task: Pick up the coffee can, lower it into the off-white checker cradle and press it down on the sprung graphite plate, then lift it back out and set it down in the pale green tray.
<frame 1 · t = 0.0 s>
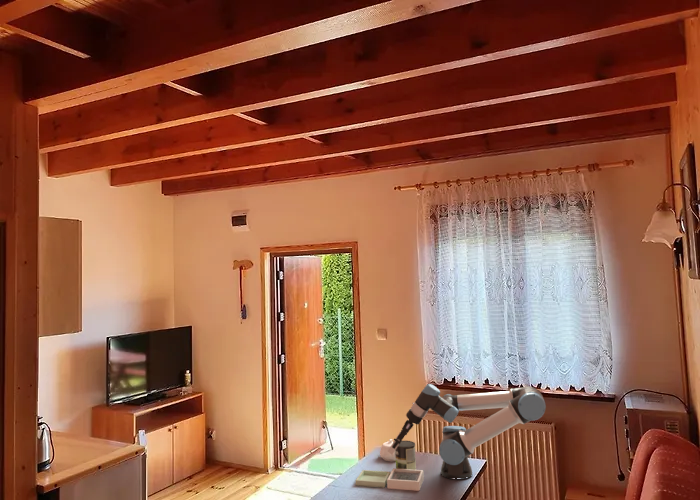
hand: (392, 448, 257), 15 cm above the table, tool tilted 35°, fingers open, 13 cm apart
checker cradle: (406, 483, 251), on the table
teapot: (391, 459, 287), on the table
coffee can: (406, 472, 266), on the table
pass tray: (373, 481, 256), on the table
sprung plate: (405, 478, 252), point 2 cm above the table, slide at 0.1 cm
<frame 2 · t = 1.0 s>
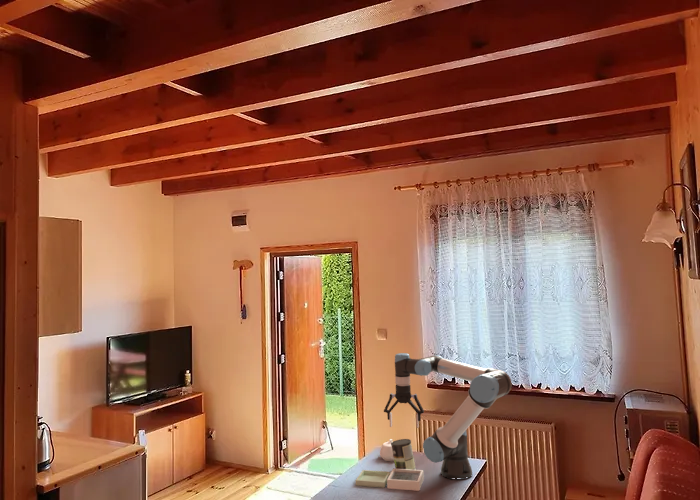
hand: (404, 426, 267), 23 cm above the table, tool pointing down, fingers open, 13 cm apart
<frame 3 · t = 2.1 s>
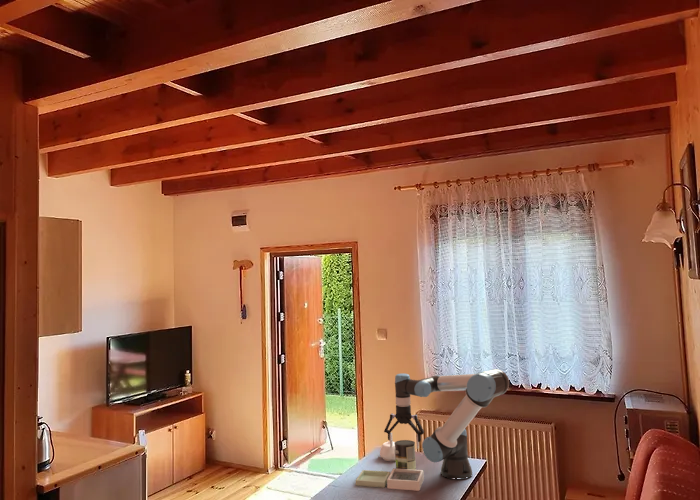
hand: (404, 447, 267), 12 cm above the table, tool pointing down, fingers open, 13 cm apart
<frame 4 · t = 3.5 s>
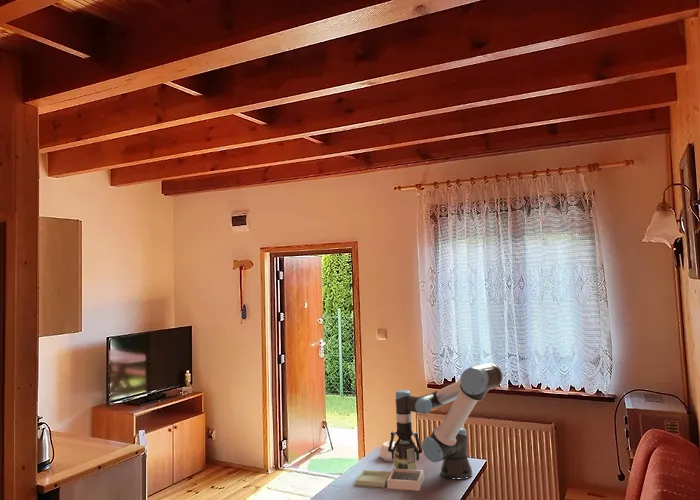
hand: (405, 466, 267), 3 cm above the table, tool pointing down, fingers closed on coffee can, 10 cm apart
coffee can: (406, 472, 266), on the table, touching gripper
everything else where it was.
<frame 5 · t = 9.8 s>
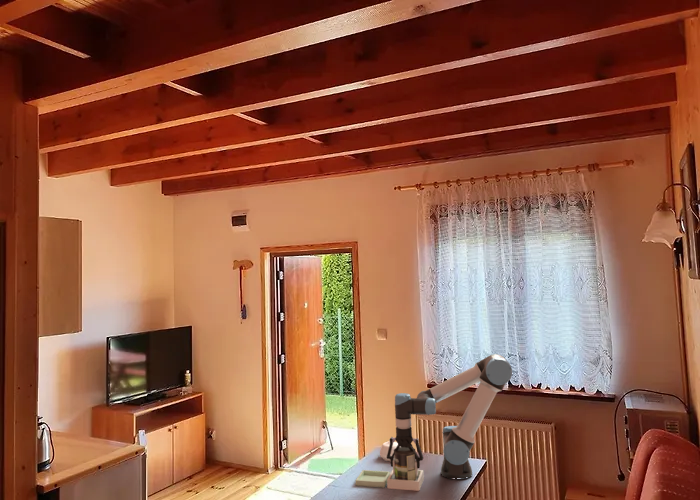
hand: (405, 474, 252), 4 cm above the table, tool pointing down, fingers closed on coffee can, 10 cm apart
coffee can: (406, 480, 251), point 1 cm above the table, touching gripper, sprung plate
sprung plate: (405, 481, 251), point 1 cm above the table, slide at 1.4 cm, touching coffee can
everything else where it was.
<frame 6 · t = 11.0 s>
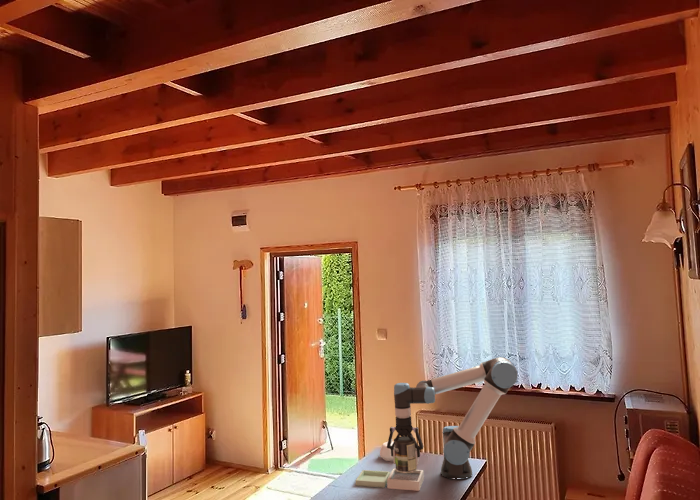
hand: (406, 463, 252), 9 cm above the table, tool pointing down, fingers closed on coffee can, 10 cm apart
coffee can: (406, 469, 252), point 6 cm above the table, touching gripper
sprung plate: (405, 478, 252), point 2 cm above the table, slide at 0.2 cm
everything else where it was.
when the fingers open (5 cm above the table, at t = 17.5 s): coffee can drops 2 cm, resting on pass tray.
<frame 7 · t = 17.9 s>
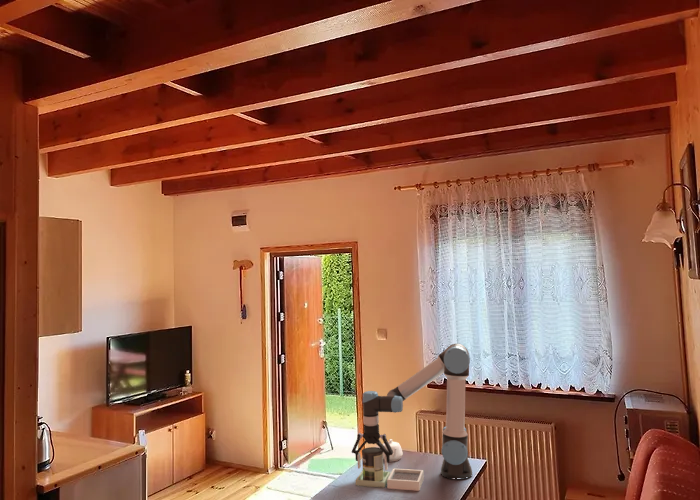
hand: (372, 468, 256), 6 cm above the table, tool pointing down, fingers open, 13 cm apart
coffee can: (373, 480, 256), resting on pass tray
everything else where it was.
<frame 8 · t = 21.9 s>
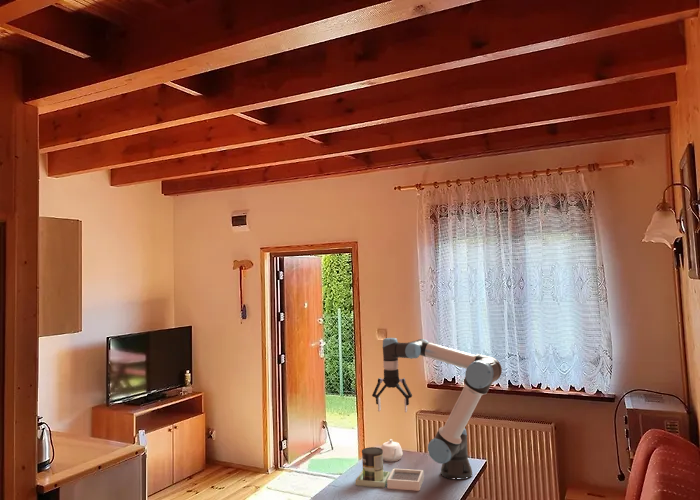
hand: (392, 411, 267), 31 cm above the table, tool pointing down, fingers open, 13 cm apart
nothing on the table moved.
at the end: coffee can 0.1 cm off-centre on the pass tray, point 0.4 cm above the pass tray's base; coffee can tilted 0°; the gripper is holding nothing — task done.
